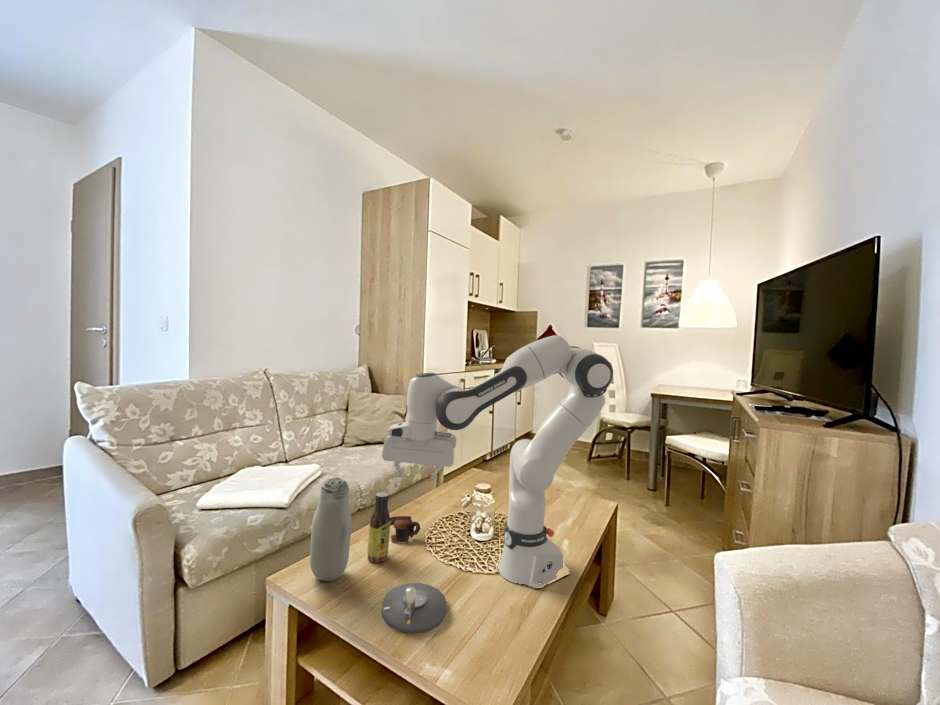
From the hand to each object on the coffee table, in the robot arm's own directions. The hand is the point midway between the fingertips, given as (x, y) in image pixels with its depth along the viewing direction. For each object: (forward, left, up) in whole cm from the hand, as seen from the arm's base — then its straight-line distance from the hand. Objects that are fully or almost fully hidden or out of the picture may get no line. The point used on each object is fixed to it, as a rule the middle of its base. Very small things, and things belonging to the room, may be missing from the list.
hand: (416, 478), depth 113 cm
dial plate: (+3, +13, -29) cm, 32 cm away
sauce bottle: (+6, -13, -29) cm, 33 cm away
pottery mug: (-5, -23, -29) cm, 38 cm away
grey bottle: (+21, -8, -29) cm, 37 cm away
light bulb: (+4, +14, -27) cm, 31 cm away
